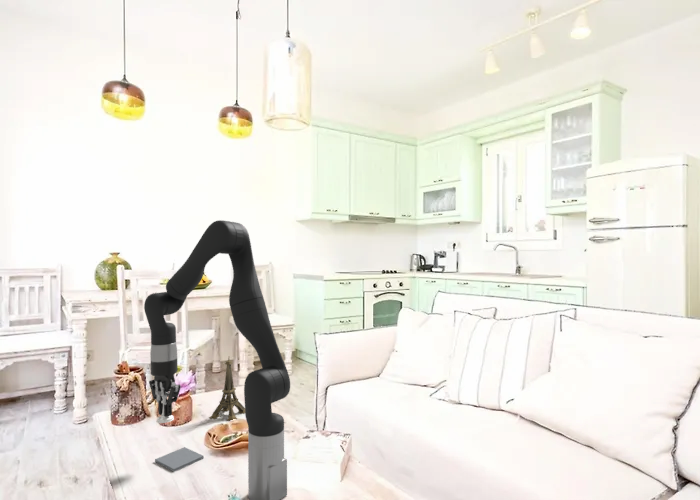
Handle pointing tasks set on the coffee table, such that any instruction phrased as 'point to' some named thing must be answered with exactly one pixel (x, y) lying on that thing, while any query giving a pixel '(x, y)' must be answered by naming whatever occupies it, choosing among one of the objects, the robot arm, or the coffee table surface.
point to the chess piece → (162, 418)
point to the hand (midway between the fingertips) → (165, 414)
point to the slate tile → (179, 459)
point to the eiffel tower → (228, 397)
